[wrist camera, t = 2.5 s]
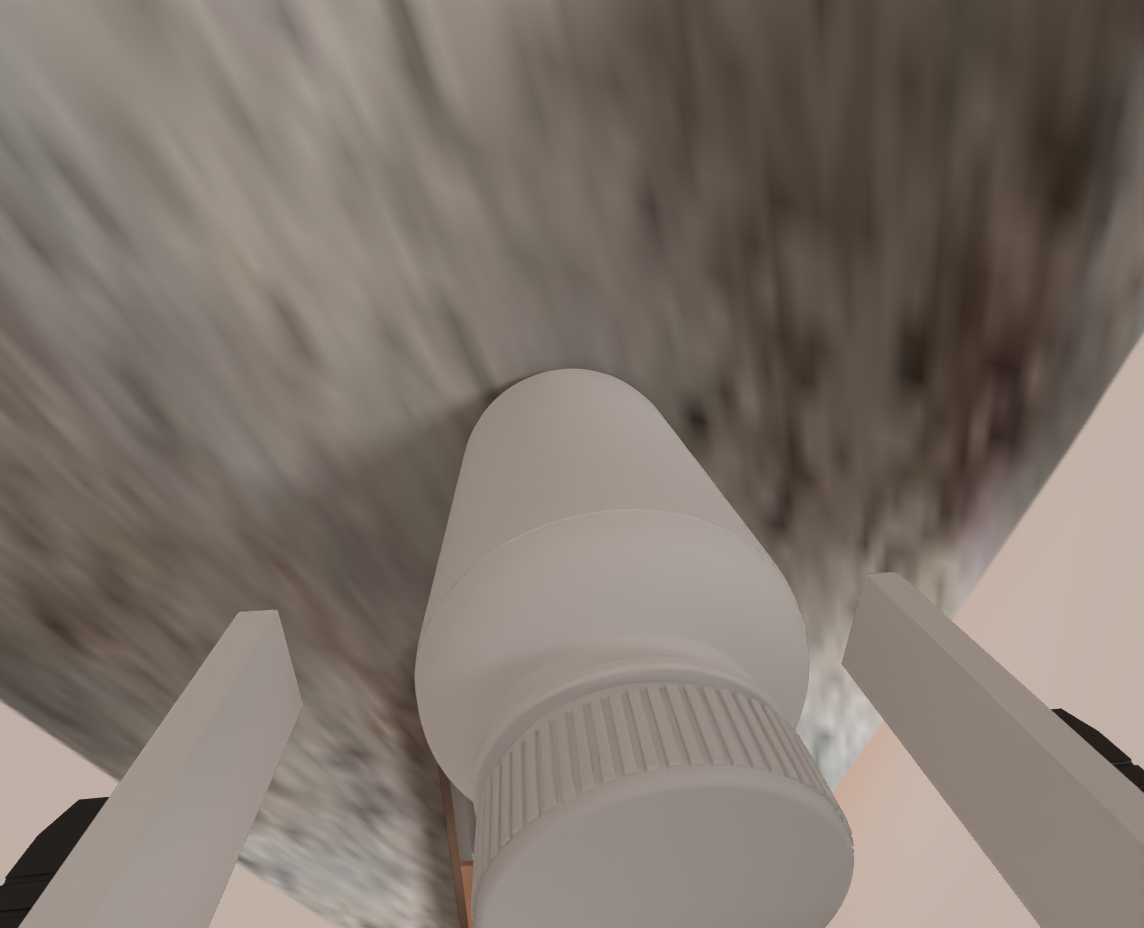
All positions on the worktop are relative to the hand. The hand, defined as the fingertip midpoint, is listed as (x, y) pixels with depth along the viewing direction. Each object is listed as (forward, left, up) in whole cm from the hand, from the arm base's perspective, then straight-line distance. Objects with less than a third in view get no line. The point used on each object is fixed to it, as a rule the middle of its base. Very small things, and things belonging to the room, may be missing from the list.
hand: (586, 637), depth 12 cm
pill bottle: (0, 0, -10) cm, 10 cm away
